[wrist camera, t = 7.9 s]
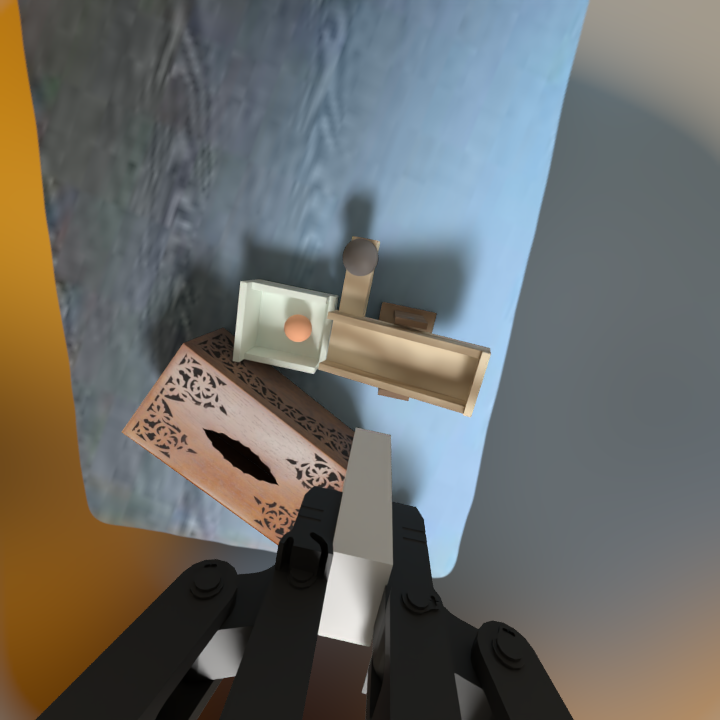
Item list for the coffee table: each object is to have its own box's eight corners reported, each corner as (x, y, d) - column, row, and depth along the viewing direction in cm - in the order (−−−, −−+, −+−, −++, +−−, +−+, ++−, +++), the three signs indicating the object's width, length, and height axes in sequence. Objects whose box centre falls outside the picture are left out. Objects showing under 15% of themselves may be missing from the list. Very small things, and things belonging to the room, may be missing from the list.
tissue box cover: (367, 441, 51) (362, 482, 41) (307, 503, 55) (290, 554, 45) (224, 327, 48) (183, 343, 38) (171, 400, 52) (121, 431, 42)
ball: (291, 310, 46) (282, 313, 42) (317, 315, 46) (310, 319, 42) (287, 335, 47) (278, 341, 43) (312, 341, 47) (305, 347, 43)
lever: (351, 236, 40) (340, 232, 37) (514, 267, 36) (518, 266, 32) (328, 363, 44) (316, 370, 41) (471, 406, 40) (470, 417, 37)
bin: (259, 279, 46) (240, 281, 40) (338, 295, 45) (331, 300, 40) (251, 349, 48) (232, 360, 42) (326, 365, 48) (317, 379, 42)
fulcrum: (382, 301, 45) (381, 308, 38) (435, 312, 45) (444, 321, 38) (366, 376, 48) (362, 395, 41) (416, 387, 48) (421, 408, 41)
